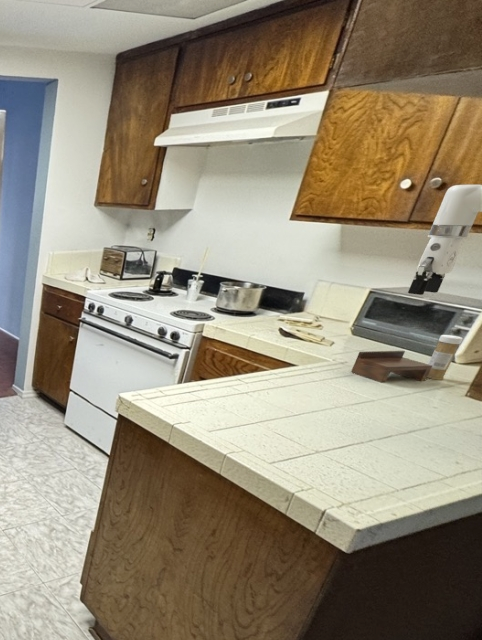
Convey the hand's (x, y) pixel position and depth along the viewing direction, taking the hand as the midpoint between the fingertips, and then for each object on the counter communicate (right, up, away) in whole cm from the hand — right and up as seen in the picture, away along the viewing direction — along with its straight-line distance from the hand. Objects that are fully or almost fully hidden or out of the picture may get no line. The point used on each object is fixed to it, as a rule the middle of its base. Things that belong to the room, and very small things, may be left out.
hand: (422, 292), depth 139 cm
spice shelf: (-2, -25, +8) cm, 26 cm away
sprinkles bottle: (+13, -25, +8) cm, 29 cm away
